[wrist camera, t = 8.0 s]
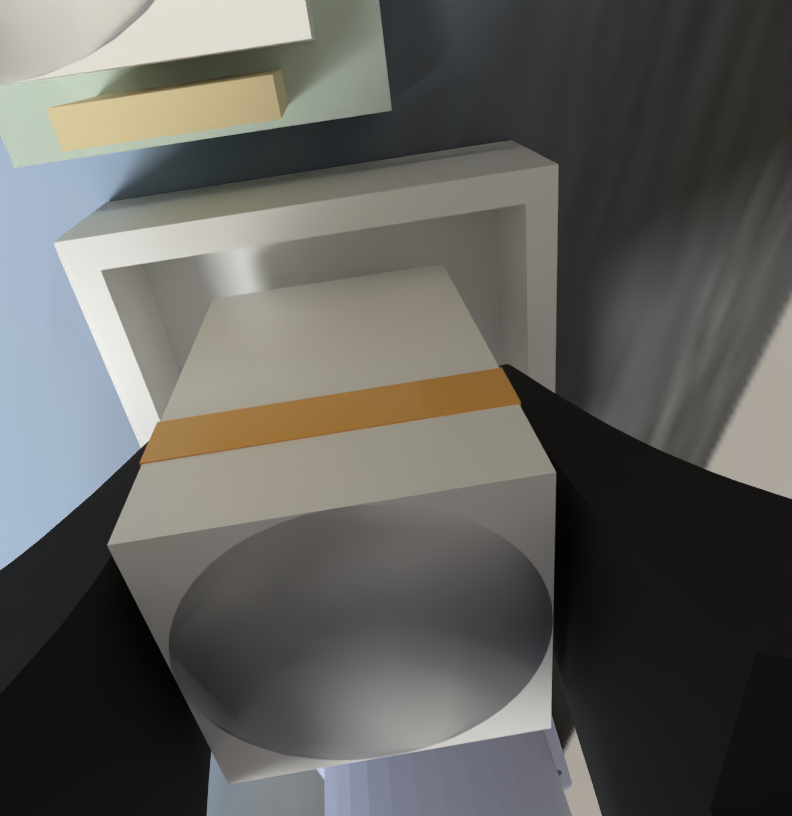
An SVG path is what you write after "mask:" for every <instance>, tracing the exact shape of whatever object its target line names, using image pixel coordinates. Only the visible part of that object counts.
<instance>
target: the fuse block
mask: <svg viewBox="0 0 792 816" xmlns="http://www.w3.org/2000/svg"><path fill="white" fill-rule="evenodd" d="M310 5H311V11H312V17H313V23H314V29H315V35H316V40H311V41H304V42H298V43H291V44H284V45H277V46H271V47H264V48H257V49H250V50H244V51H237V52H230V53H223V54H217V55H210V56H203V57H196V58H190V59H183V60H176V61H169V62H163V63H156V64H149V65H142V66H136V67H129V68H122V69H115V70H109V71H102V72H95V73H88V74H82V75H75V76H68V77H61V78H55V79H48V80H41V81H34V82H27V83H20V84H13V85H6V86H0V136H1V138H2V140H3V143H4V145H5V147H6V149H7V152H8V154H9V156H10V159H11V161H12V163H13V166H14V168H17V167H24V166H30V165H37V164H43V163H50V162H57V161H63V160H70V159H76V158H83V157H90V156H96V155H103V154H109V153H116V152H123V151H129V150H136V149H142V148H149V147H156V146H162V145H169V144H175V143H182V142H189V141H195V140H202V139H208V138H215V137H222V136H228V135H235V134H241V133H248V132H254V131H261V130H268V129H274V128H281V127H287V126H294V125H301V124H307V123H314V122H320V121H327V120H334V119H340V118H347V117H353V116H360V115H367V114H373V113H380V112H386V111H392V107H391V99H390V90H389V82H388V73H387V65H386V56H385V47H384V39H383V30H382V22H381V13H380V5H379V0H310Z"/></svg>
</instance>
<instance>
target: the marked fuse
mask: <svg viewBox="0 0 792 816" xmlns="http://www.w3.org/2000/svg"><path fill="white" fill-rule="evenodd" d="M140 466H141V468H140V470H139V472H138V475H137V477H136V479H135V482H134V484H133V486H132V489H131V491H130V493H129V496H128V498H127V500H126V503H125V505H124V507H123V510H122V512H121V514H120V517H119V519H118V521H117V524H116V526H115V528H114V530H113V533H112V535H111V537H110V540H109V542H108V544H107V546H108V548H109V550H110V552H111V554H112V556H113V558H114V560H115V562H116V564H117V566H118V568H119V570H120V572H121V574H122V576H123V578H124V580H125V582H126V584H127V586H128V588H129V590H130V591H131V593H132V595H133V597H134V599H135V601H136V603H137V605H138V607H139V609H140V611H141V613H142V615H143V617H144V619H145V621H146V623H147V625H148V627H149V629H150V631H151V633H152V635H153V637H154V639H155V641H156V643H157V645H158V647H159V649H160V651H161V653H162V654H163V656H164V658H165V660H166V662H167V664H168V666H169V668H170V670H171V672H172V674H173V676H174V678H175V680H176V682H177V684H178V686H179V688H180V690H181V692H182V694H183V696H184V698H185V700H186V702H187V704H188V706H189V708H190V710H191V712H192V714H193V715H194V717H195V719H196V721H197V723H198V725H199V727H200V729H201V731H202V733H203V735H204V737H205V739H206V741H207V743H208V745H209V747H210V749H211V751H212V753H213V755H214V757H215V759H216V761H217V763H218V765H219V767H220V769H221V771H222V773H223V775H224V776H225V778H226V780H227V782H228V784H233V783H239V782H245V781H250V780H256V779H262V778H268V777H273V776H279V775H285V774H291V773H296V772H302V771H308V770H314V769H319V768H325V767H331V766H337V765H342V764H348V763H354V762H360V761H366V760H371V759H377V758H383V757H389V756H394V755H400V754H406V753H412V752H417V751H423V750H429V749H435V748H440V747H446V746H452V745H458V744H463V743H469V742H475V741H481V740H487V739H492V738H498V737H504V736H510V735H515V734H521V733H527V732H533V731H538V730H544V729H550V728H551V702H552V654H553V606H554V558H555V509H556V471H555V469H554V467H553V465H552V464H551V462H550V460H549V458H548V456H547V454H546V452H545V451H544V449H543V447H542V445H541V443H540V441H539V440H538V438H537V436H536V434H535V432H534V430H533V429H532V427H531V425H530V423H529V421H528V419H527V418H526V416H525V414H524V412H523V410H522V408H521V401H520V400H519V398H518V396H517V394H516V392H515V390H514V389H513V387H512V385H511V383H510V381H509V380H508V378H507V376H506V374H505V372H504V371H503V369H502V368H499V366H498V364H497V363H496V361H495V359H494V357H493V355H492V353H491V352H490V350H489V348H488V346H487V344H486V342H485V340H484V339H483V337H482V335H481V333H480V331H479V329H478V328H477V326H476V324H475V322H474V320H473V318H472V317H471V315H470V313H469V311H468V309H467V307H466V306H465V304H464V302H463V300H462V298H461V296H460V295H459V293H458V291H457V289H456V287H455V285H454V284H453V282H452V280H451V278H450V276H449V274H448V273H447V271H446V269H445V267H444V265H443V264H437V265H430V266H424V267H417V268H411V269H404V270H398V271H391V272H385V273H378V274H372V275H365V276H359V277H352V278H346V279H339V280H333V281H326V282H320V283H313V284H307V285H300V286H294V287H287V288H281V289H274V290H268V291H261V292H254V293H248V294H241V295H235V296H228V297H222V298H215V299H213V300H212V302H211V304H210V307H209V309H208V311H207V314H206V316H205V318H204V321H203V323H202V325H201V328H200V330H199V332H198V335H197V337H196V339H195V342H194V344H193V346H192V349H191V351H190V353H189V356H188V358H187V360H186V363H185V365H184V367H183V370H182V372H181V374H180V377H179V379H178V381H177V384H176V386H175V388H174V391H173V393H172V395H171V398H170V400H169V402H168V405H167V407H166V409H165V412H164V414H163V416H162V419H161V421H160V422H157V424H156V426H155V428H154V431H153V433H152V435H151V437H150V440H149V442H148V444H147V447H146V449H145V451H144V454H143V456H142V458H141V460H140Z"/></svg>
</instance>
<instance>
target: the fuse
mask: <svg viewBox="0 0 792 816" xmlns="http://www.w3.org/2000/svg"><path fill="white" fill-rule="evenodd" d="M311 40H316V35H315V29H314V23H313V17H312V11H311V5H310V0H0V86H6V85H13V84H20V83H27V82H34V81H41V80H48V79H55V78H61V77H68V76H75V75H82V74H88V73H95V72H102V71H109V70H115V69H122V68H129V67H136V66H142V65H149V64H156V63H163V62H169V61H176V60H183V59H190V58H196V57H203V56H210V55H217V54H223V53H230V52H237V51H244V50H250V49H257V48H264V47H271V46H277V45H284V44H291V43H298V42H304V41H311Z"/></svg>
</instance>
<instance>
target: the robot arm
mask: <svg viewBox="0 0 792 816" xmlns="http://www.w3.org/2000/svg"><path fill="white" fill-rule="evenodd" d="M499 368H502V369H503V371H504V372H505V374H506V376H507V378H508V380H509V381H510V383H511V385H512V387H513V389H514V390H515V392H516V394H517V396H518V398H519V400H520V401H521V408H522V410H523V412H524V414H525V416H526V418H527V419H528V421H529V423H530V425H531V427H532V429H533V430H534V432H535V434H536V436H537V438H538V440H539V441H540V443H541V445H542V447H543V449H544V451H545V452H546V454H547V456H548V458H549V460H550V462H551V464H552V465H553V467H554V469H555V471H556V509H555V558H554V606H553V654H552V658H553V661H554V664H555V667H556V670H557V673H558V676H559V679H560V682H561V685H562V688H563V691H564V695H565V698H566V701H567V704H568V707H569V710H570V713H571V716H572V719H573V723H574V726H575V729H576V732H577V735H578V739H579V742H580V745H581V748H582V751H583V755H584V758H585V761H586V764H587V768H588V771H589V774H590V777H591V780H592V783H593V787H594V790H595V793H596V797H597V800H598V804H599V807H600V810H601V814H602V816H792V499H789V498H786V497H783V496H780V495H777V494H774V493H771V492H768V491H765V490H762V489H759V488H756V487H753V486H750V485H747V484H744V483H741V482H738V481H735V480H732V479H729V478H727V477H724V476H721V475H718V474H716V473H713V472H710V471H708V470H705V469H703V468H701V467H698V466H696V465H693V464H691V463H689V462H686V461H684V460H681V459H679V458H677V457H674V456H672V455H669V454H667V453H665V452H662V451H660V450H658V449H656V448H654V447H652V446H649V445H647V444H645V443H643V442H641V441H639V440H637V439H635V438H633V437H631V436H629V435H627V434H625V433H624V432H622V431H620V430H618V429H616V428H614V427H612V426H610V425H608V424H606V423H605V422H603V421H601V420H599V419H597V418H596V417H594V416H592V415H590V414H589V413H587V412H585V411H583V410H582V409H580V408H578V407H577V406H575V405H573V404H572V403H570V402H568V401H567V400H565V399H563V398H562V397H560V396H559V395H557V394H555V393H554V392H552V391H551V390H549V389H548V388H546V387H544V386H543V385H541V384H540V383H538V382H537V381H535V380H534V379H532V378H530V377H529V376H527V375H526V374H524V373H523V372H521V371H519V370H518V369H516V368H515V367H513V366H511V365H509V364H505V365H499ZM148 442H149V441H148ZM148 442H147V443H146V444H145V445H144V446H143V447H142V448H141V449H140V450H139V451H138V452H136V453H135V454H134V455H133V456H132V457H131V458H130V459H129V460H128V461H127V462H126V463H125V464H124V465H123V466H122V467H121V468H120V469H119V470H118V471H116V472H115V473H114V474H113V475H112V476H111V477H110V478H109V479H108V480H107V481H106V482H105V483H104V484H103V485H102V486H101V487H100V488H99V489H97V490H96V491H95V492H94V493H93V494H92V495H91V496H90V497H89V498H87V499H86V500H85V501H84V502H83V503H82V504H81V505H79V506H78V507H77V508H76V509H75V510H74V511H72V512H71V513H70V514H69V515H68V516H67V517H66V518H64V519H63V520H62V521H61V522H60V523H59V524H58V525H56V526H55V527H54V528H53V529H52V530H51V531H49V532H48V533H47V534H46V535H45V536H44V537H43V538H41V539H40V540H39V541H38V542H36V543H35V544H34V545H33V546H31V547H30V548H29V549H28V550H26V551H25V552H24V553H23V554H21V555H20V556H19V557H17V558H16V559H15V560H14V561H12V562H11V563H10V564H8V565H7V566H6V567H4V568H3V569H2V570H0V816H206V814H207V798H208V782H209V770H210V758H211V749H210V747H209V745H208V743H207V741H206V739H205V737H204V735H203V733H202V731H201V729H200V727H199V725H198V723H197V721H196V719H195V717H194V715H193V714H192V712H191V710H190V708H189V706H188V704H187V702H186V700H185V698H184V696H183V694H182V692H181V690H180V688H179V686H178V684H177V682H176V680H175V678H174V676H173V674H172V672H171V670H170V668H169V666H168V664H167V662H166V660H165V658H164V656H163V654H162V653H161V651H160V649H159V647H158V645H157V643H156V641H155V639H154V637H153V635H152V633H151V631H150V629H149V627H148V625H147V623H146V621H145V619H144V617H143V615H142V613H141V611H140V609H139V607H138V605H137V603H136V601H135V599H134V597H133V595H132V593H131V591H130V590H129V588H128V586H127V584H126V582H125V580H124V578H123V576H122V574H121V572H120V570H119V568H118V566H117V564H116V562H115V560H114V558H113V556H112V554H111V552H110V550H109V548H108V546H107V544H108V542H109V540H110V537H111V535H112V533H113V530H114V528H115V526H116V524H117V521H118V519H119V517H120V514H121V512H122V510H123V507H124V505H125V503H126V500H127V498H128V496H129V493H130V491H131V489H132V486H133V484H134V482H135V479H136V477H137V475H138V472H139V470H140V468H141V466H140V460H141V458H142V456H143V454H144V451H145V449H146V447H147V444H148ZM317 770H318V772H319V773H320V774H321V776H322V777H323V779H324V780H325V816H572V815H571V812H570V809H569V806H568V803H567V800H566V797H565V793H564V791H566V790H568V789H569V788H570V787H571V785H572V781H571V778H570V775H569V771H568V768H567V765H566V761H565V758H564V754H563V751H562V748H561V744H560V741H559V738H558V734H557V731H556V728H555V724H554V721H553V718H552V714H551V728H550V729H544V730H538V731H533V732H527V733H521V734H515V735H510V736H504V737H498V738H492V739H487V740H481V741H475V742H469V743H463V744H458V745H452V746H446V747H440V748H435V749H429V750H423V751H417V752H412V753H406V754H400V755H394V756H389V757H383V758H377V759H371V760H366V761H360V762H354V763H348V764H342V765H337V766H331V767H325V768H319V769H317Z"/></svg>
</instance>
